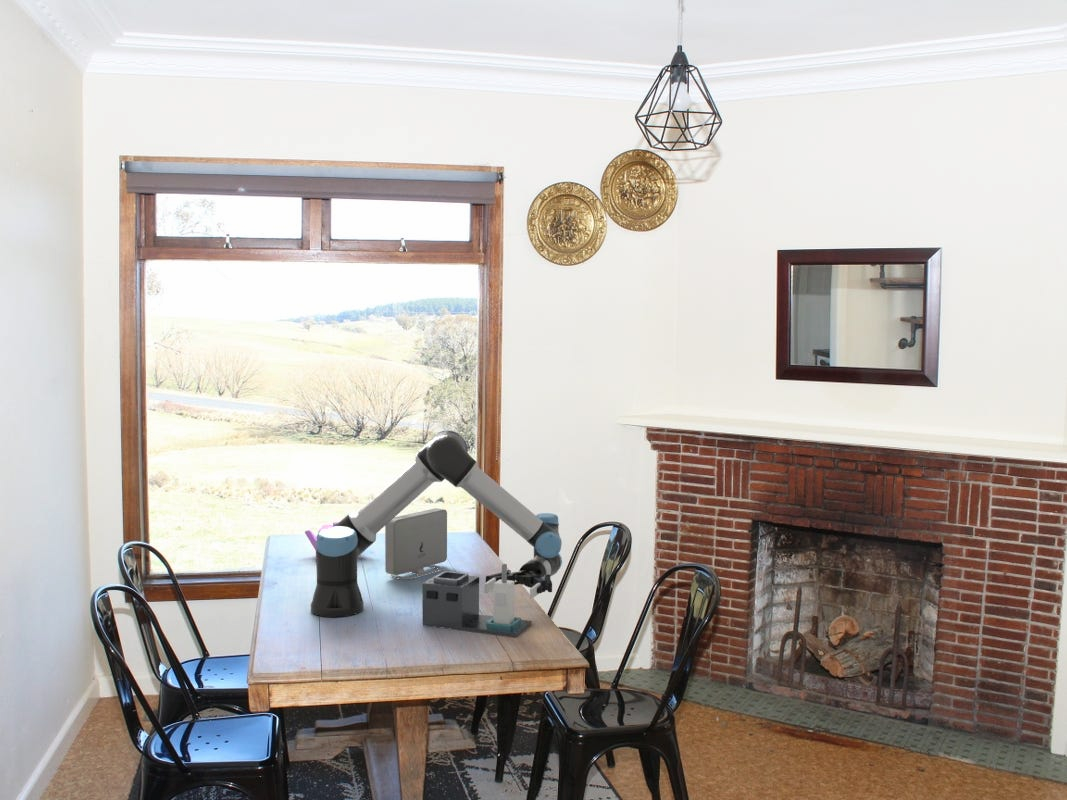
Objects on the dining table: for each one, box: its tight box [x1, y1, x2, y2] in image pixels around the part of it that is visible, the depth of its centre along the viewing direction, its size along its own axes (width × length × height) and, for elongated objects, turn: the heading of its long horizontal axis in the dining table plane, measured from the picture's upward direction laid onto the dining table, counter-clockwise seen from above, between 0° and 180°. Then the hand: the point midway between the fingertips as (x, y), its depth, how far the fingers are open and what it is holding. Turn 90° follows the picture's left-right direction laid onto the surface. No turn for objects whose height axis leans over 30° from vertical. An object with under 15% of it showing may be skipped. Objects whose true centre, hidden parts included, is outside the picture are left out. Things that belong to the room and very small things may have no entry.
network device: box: [384, 507, 448, 580], centre depth 331 cm, size 26×9×20 cm, turn 143°
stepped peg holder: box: [421, 570, 532, 638], centre depth 277 cm, size 13×28×13 cm, turn 70°
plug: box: [493, 563, 515, 625], centre depth 274 cm, size 5×4×17 cm
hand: (508, 591), depth 276 cm, fingers open, 13 cm apart
